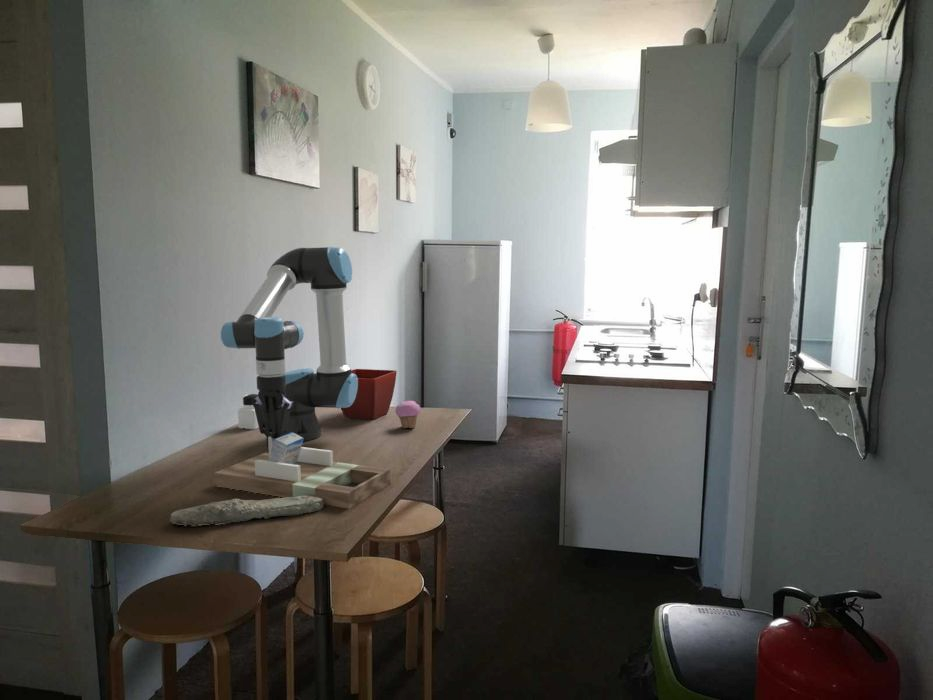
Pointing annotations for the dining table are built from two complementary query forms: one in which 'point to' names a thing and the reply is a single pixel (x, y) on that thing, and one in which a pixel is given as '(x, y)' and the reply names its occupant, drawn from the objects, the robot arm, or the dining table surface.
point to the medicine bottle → (248, 413)
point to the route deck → (310, 481)
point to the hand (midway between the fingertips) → (274, 459)
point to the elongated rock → (246, 510)
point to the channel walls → (292, 470)
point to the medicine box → (286, 449)
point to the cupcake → (408, 413)
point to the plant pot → (372, 393)
